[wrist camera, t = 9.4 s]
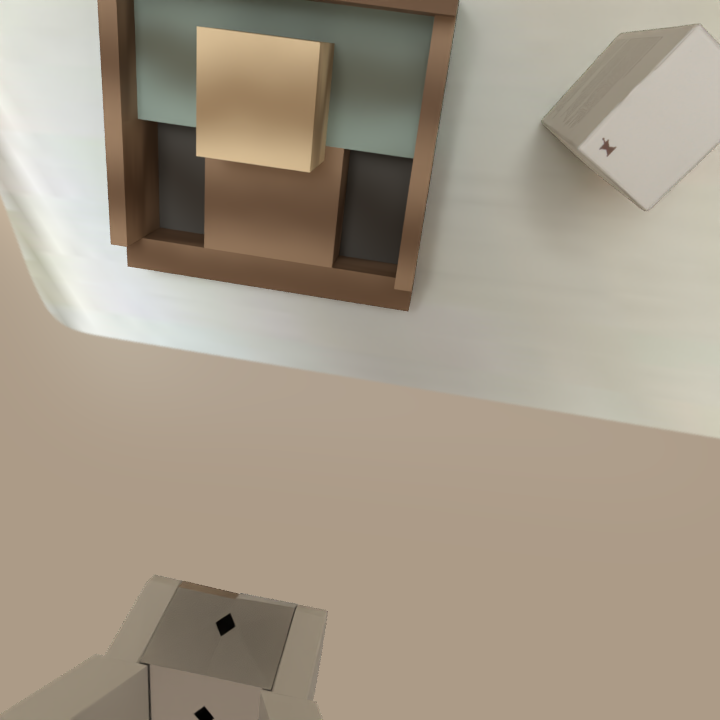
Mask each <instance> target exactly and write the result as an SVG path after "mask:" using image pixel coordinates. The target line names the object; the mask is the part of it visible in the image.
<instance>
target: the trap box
mask: <svg viewBox="0 0 720 720" xmlns="http://www.w3.org/2000/svg"><path fill="white" fill-rule="evenodd" d="M458 6H459V0H98V18H99V36H100V55H101V73H102V91H103V109H104V128H105V146H106V164H107V182H108V200H109V219H110V237H111V244H113V245H119V246H125V247H127V263H128V266H129V267H135V268H141V269H148V270H154V271H160V272H166V273H172V274H179V275H185V276H191V277H197V278H204V279H210V280H216V281H222V282H229V283H235V284H241V285H247V286H254V287H260V288H266V289H272V290H278V291H285V292H291V293H297V294H303V295H310V296H316V297H322V298H328V299H335V300H341V301H347V302H353V303H360V304H366V305H372V306H378V307H384V308H391V309H397V310H403V311H409V305H410V300H411V295H412V289H413V283H414V276H415V270H416V264H417V258H418V252H419V246H420V240H421V233H422V227H423V221H424V215H425V209H426V203H427V196H428V190H429V184H430V178H431V172H432V166H433V160H434V153H435V147H436V141H437V135H438V129H439V123H440V116H441V110H442V104H443V98H444V92H445V86H446V80H447V73H448V67H449V61H450V55H451V49H452V43H453V36H454V30H455V24H456V18H457V12H458ZM197 26H199V27H209V28H220V29H229V30H236V31H244V32H252V33H259V34H267V35H275V36H282V37H290V38H297V39H305V40H313V41H320V42H328V43H335V45H334V57H333V68H332V79H331V90H330V102H329V113H328V124H327V135H326V146H325V158H324V161H323V162H322V163H321V164H320V165H318V166H317V167H316V168H315V169H314V170H312V171H311V172H310V173H309V172H303V171H296V170H289V169H282V168H275V167H268V166H261V165H255V164H248V163H241V162H234V161H227V160H220V159H213V158H207V157H200V156H196V76H197Z"/></svg>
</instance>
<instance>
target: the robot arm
mask: <svg viewBox="0 0 720 720" xmlns="http://www.w3.org/2000/svg"><path fill="white" fill-rule="evenodd" d="M327 613H328V611H326V610H322V609H317V608H312V607H307V606H303V605H298V604H295V603H289V602H284V601H279V600H274V599H269V598H263V597H258V596H252V595H248V594H243V593H240V594H238V593H233V592H229V591H225V590H221V589H216V588H212V587H208V586H203V585H199V584H195V583H191V582H186V581H181V580H176V579H172V578H167V577H163V576H158V575H154V576H153V577H152V578H150V579H149V580H148V581H147V583H146V584H145V586H144V588H143V589H142V591H141V593H140V595H139V596H138V598H137V600H136V602H135V603H134V605H133V607H132V609H131V610H130V612H129V614H128V615H127V617H126V619H125V621H124V622H123V624H122V626H121V627H120V629H119V631H118V633H117V634H116V636H115V638H114V640H113V642H112V643H111V645H110V647H109V648H108V650H107V652H106V654H105V655H104V656H102V655H97V654H95V655H93V656H92V657H90V658H88V659H87V660H85V661H84V662H82V663H81V664H79V665H77V666H76V667H74V668H73V669H71V670H69V671H68V672H67V673H65V674H63V675H61V676H60V677H58V678H57V679H55V680H54V681H52V682H50V683H49V684H47V685H46V686H44V687H42V688H41V689H39V690H38V691H36V692H35V693H33V694H32V695H30V696H28V697H27V698H25V699H24V700H22V701H20V702H19V703H17V704H16V705H14V706H12V707H11V708H9V709H8V710H6V711H4V712H3V713H2V714H0V720H323V718H322V715H321V713H320V710H319V708H318V705H317V702H316V701H313V698H314V693H315V688H316V683H317V677H318V671H319V665H320V660H321V653H322V647H323V640H324V634H325V628H326V621H327Z"/></svg>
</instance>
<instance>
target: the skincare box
mask: <svg viewBox="0 0 720 720" xmlns="http://www.w3.org/2000/svg"><path fill="white" fill-rule="evenodd" d="M541 122H542V124H543V125H544V126H545V127H546V128H547V129H548V130H549V131H550V132H551V133H552V134H553V135H555V136H556V137H557V138H558V139H559V140H560V141H561V142H562V143H563V144H564V145H565V146H566V147H567V148H568V149H569V150H570V151H571V152H573V153H574V154H575V155H576V156H577V157H578V158H579V159H580V160H581V161H582V162H584V163H585V164H586V165H587V166H588V167H589V168H590V169H591V170H593V171H594V172H595V173H596V174H598V175H599V176H600V177H601V178H603V179H604V180H605V181H607V182H608V183H609V184H610V185H612V186H613V187H614V188H616V189H617V190H618V191H619V192H621V193H622V194H623V195H624V196H626V197H627V198H628V199H629V200H631V201H632V202H633V203H635V204H636V205H637V206H638V207H640V208H641V209H642V210H644V211H648V210H650V209H651V208H652V207H653V206H654V205H655V204H656V203H657V202H658V201H659V200H660V199H662V198H663V197H664V196H665V195H666V194H667V193H668V192H669V191H670V190H671V189H672V188H673V187H674V186H675V185H676V184H677V183H678V182H679V181H680V180H682V179H683V178H684V177H685V176H686V175H687V174H688V173H689V172H690V171H691V170H692V169H693V168H694V167H695V166H696V165H697V164H698V163H699V162H700V161H701V160H702V159H703V158H704V157H705V156H706V155H707V154H708V153H709V152H711V151H712V150H713V149H714V148H715V147H716V146H717V145H718V144H719V143H720V44H719V43H718V42H717V41H716V40H715V39H714V38H713V37H712V36H711V35H710V34H709V33H708V31H707V30H706V29H705V28H704V27H703V26H702V25H701V24H699V23H698V24H692V25H685V26H678V27H669V28H660V29H652V30H643V31H634V32H626V33H621V34H619V35H618V36H617V38H616V39H615V40H614V41H613V42H612V43H611V44H610V45H609V46H608V47H607V49H606V50H605V51H604V52H603V53H602V54H601V55H600V56H599V57H598V58H597V60H596V61H595V62H594V63H593V64H592V65H591V66H590V67H589V68H588V69H587V71H586V72H585V73H584V74H583V75H582V76H581V77H580V78H579V79H578V80H577V82H576V83H575V84H574V85H573V86H572V87H571V88H570V89H569V90H568V91H567V93H566V94H565V95H564V96H563V97H562V98H561V99H560V100H559V101H558V103H557V104H556V105H555V106H554V107H553V108H552V109H551V110H550V111H549V113H548V114H547V115H546V116H545V117H544V118H543V119H542V120H541Z"/></svg>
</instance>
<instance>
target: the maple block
mask: <svg viewBox="0 0 720 720" xmlns="http://www.w3.org/2000/svg"><path fill="white" fill-rule="evenodd" d="M334 45H335V43H328V42H320V41H313V40H305V39H297V38H290V37H282V36H275V35H267V34H259V33H252V32H244V31H236V30H229V29H220V28H209V27H199V26H197V76H196V156H200V157H207V158H213V159H220V160H227V161H234V162H241V163H248V164H255V165H261V166H268V167H275V168H282V169H289V170H296V171H303V172H309V173H310V172H311V171H312V170H314V169H315V168H316V167H317V166H318V165H320V164H321V163H322V162H323V161H324V158H325V146H326V135H327V124H328V113H329V102H330V90H331V79H332V68H333V57H334Z"/></svg>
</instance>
